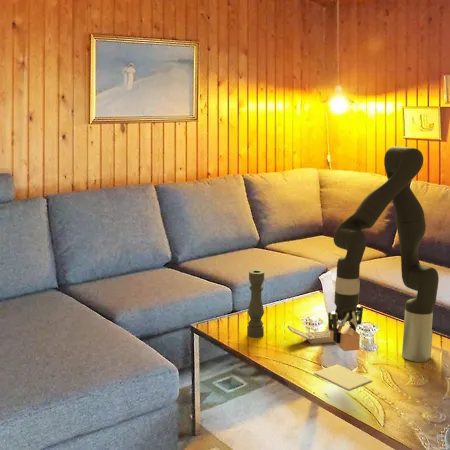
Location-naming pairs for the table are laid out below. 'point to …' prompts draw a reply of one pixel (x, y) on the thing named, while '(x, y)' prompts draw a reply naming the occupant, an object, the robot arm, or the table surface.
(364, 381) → the beige flat plate
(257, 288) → the candle holder
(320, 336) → the mobile phone
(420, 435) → the table surface
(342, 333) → the card box
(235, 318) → the table surface
